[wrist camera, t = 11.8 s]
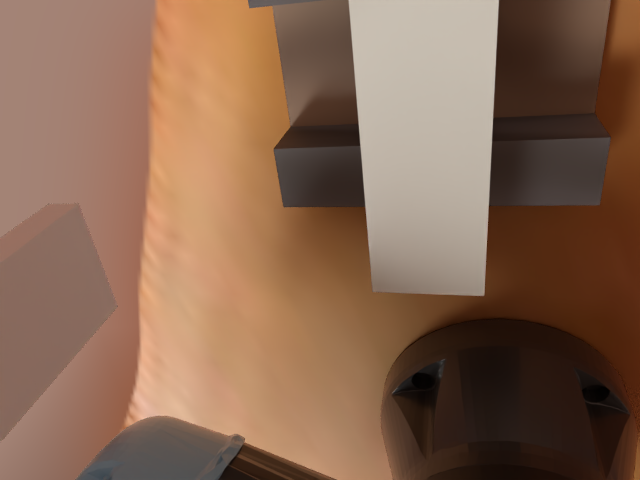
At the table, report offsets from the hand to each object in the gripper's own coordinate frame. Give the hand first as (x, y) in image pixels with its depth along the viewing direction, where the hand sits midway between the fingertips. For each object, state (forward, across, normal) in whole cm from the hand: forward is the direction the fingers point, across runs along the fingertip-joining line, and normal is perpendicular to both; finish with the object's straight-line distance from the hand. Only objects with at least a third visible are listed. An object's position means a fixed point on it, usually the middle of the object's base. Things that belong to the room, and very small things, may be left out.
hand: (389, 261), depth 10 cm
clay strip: (+13, 0, 0) cm, 13 cm away
